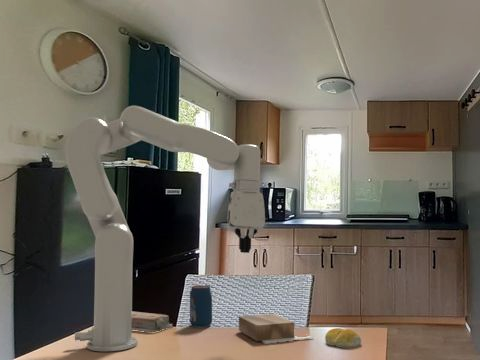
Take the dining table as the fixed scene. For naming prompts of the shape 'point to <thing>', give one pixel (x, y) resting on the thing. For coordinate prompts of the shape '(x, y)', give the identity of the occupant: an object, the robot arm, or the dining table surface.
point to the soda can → (200, 306)
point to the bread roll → (342, 338)
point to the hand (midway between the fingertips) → (244, 252)
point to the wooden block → (266, 327)
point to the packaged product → (149, 322)
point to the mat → (285, 339)
